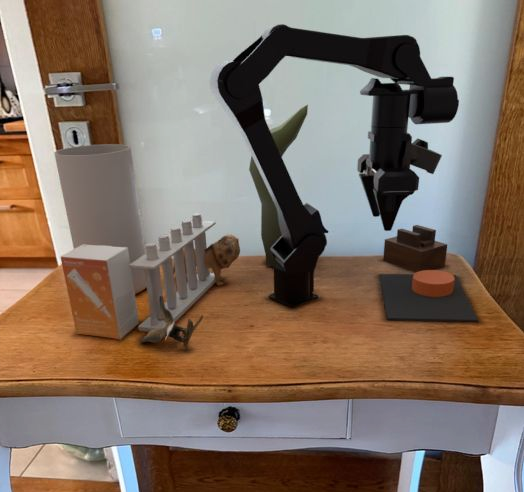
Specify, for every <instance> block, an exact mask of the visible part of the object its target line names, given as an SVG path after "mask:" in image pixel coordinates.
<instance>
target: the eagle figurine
mask: <svg viewBox="0 0 524 492" xmlns="http://www.w3.org/2000/svg"><path fill="white" fill-rule="evenodd" d="M159 301H160V314H161V316H162V318H163V320H164V321H165V323H166V326H165V327H164V328H160V329H153V330H151V331H150V332H147V334H146V335H144V336H142V339H141V341H140V343H146V342H151V343H153V344H154V343H159V342H160V341H162V340H163V339H164V338H165V339H164V341H165V342H166V341H167V340H168V338H169V337H170V338H173V340H175V341H178V342H180V343H183V345H182V346H183V348H184V350H185V351H188V350H189V349H188V346H189V342H190V340H191V337H192V335H193V333H194V331H195V330H196V329H197V327H198V326H199V325H200V323H201V322H202V320H203V317H204V315H203V314H201V315H200V317H199V318H198V319H197V320H196V321H195V323H194V322H193V321H192V320H191V318H188V320H187V323H186V327H182V326H180V325H178V324H176V323H174V322H173V317H172V315H171V313H170V311H169V310H168V309H166V308H165V304H164V303H165V298H164V296H163V297H162V296H160V299H159ZM182 335H183V336H182Z"/></svg>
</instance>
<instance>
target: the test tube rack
mask: <svg viewBox="0 0 524 492" xmlns="http://www.w3.org/2000/svg"><path fill="white" fill-rule="evenodd" d="M191 216H192V217H191V219H184V220H182V221H181V227H180V226H172V227H171V228H170V236H169V234H159V235H158V239H157V241H158V245H157V244H156V243H155V242H148V243H146V244H144V246H145V253H146V254H145V255H143V256H142V257H140V258H139V259H137V260H136V261H134V262H133V263H131V264H130V265H129V267H130V268H143V271H144V273H145V280H146V293H147V299H148V306H149V313H150V315H149V316H148V317H147V318H146V319H145V320H144V321H143V322H141V323H139V324H138V325H137V328H138V332H147V333H149V332H150V331H151V330H153V329H160V328H164V327H165V326H166V323H165V321H164V320H163V318H162V316H161V314H160V301H159V299H160V296H162V297H163V298H164V291H165V300H166V301H164V304H165V308H166V309H168V310H169V311H170V313H171V315H172V317H173V322H174V324H176V322H177V321H178V320H179V319H180V318H181V317H182V316H183V315H184V314H185V313H186V312H187V311H188V310H189V309H190V308H191V307H192V306H193V305H194V304H195V303H196V302H197V301H198V300H199V299H201V297H202V296H203V295H204V294H205V293H207V291H209V290H210V289H211V287H213V286H214V285H215V284H216V281H215V275H214V272H210V269H206V267H205V263H204V255H205V250H204V249H206V248H208V247H207V237H206V235H207V234H206V232H207V231H208V230H210V229H211V228H212V227H213V226H214V225H216V224H217V222H216V221H212V220H211V221H209V220H207V221H206V220H203V216H202V214H201V213H200V212H196V213H192V214H191ZM183 248H184V250H185V259H186V268H187V278H188V283H187V282H186V273H185V264H184V255H183ZM194 249H195V253H196V263H197V267H196V263H195V253H194ZM172 257H173V258H172ZM174 264H175V273H173V266H174ZM160 266H161V270H160ZM161 271H162V275H161ZM161 276H163V277H161ZM162 278H163V284H164V290H163V284H162ZM175 279H176V280H175ZM175 283H176V284H175ZM176 289H177V290H176Z"/></svg>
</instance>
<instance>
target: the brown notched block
mask: <svg viewBox="0 0 524 492" xmlns="http://www.w3.org/2000/svg"><path fill="white" fill-rule="evenodd" d="M436 234H437V229H433V228H429V227H427V226H423V225H419V224H415V225H412V231H411V230H408V229H405V228H398V229H397V232H396V236H393V237H389V238H385V239H384V245H383V260H382V261H383V262H386V263H389V264H391V265H393V266H397V267H400V268H403V269H406V270H408V271H410V272H411V271H412V272H413V273H416V272H419V271H423V270H438V269H440V268H444V267H446V260H447V253H448V243H445V242H442V241H437V240H436Z"/></svg>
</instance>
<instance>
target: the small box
mask: <svg viewBox="0 0 524 492" xmlns="http://www.w3.org/2000/svg"><path fill="white" fill-rule="evenodd" d="M60 261H61V262H60V263H61V266H62V270H63V276H64V281H65V285H66V290H67V295H68V300H69V305H70V309H71V314H72V319H73V324H74V329H75V333H76V335H85V336H86V335H87V336H92V337H93V336H94V337H101V338H102V337H103V338H108V339H115V340H121V339H123V338H124V337H125V336H126V335H127V334H128V333H130V332H131V331H132V330H134V328H135V327H137V326H139V325H140V319H139V312H138V304H137V299H136V298H137V297H136V294H135V291H134V285H133V279H132V272H131V268H130V267H129V265H130V259H129V252H128V248H127V247H112V246H103V245H99V246H98V245H81V246H79V247H77V248H75V249H74V248H73V249H71V250H69V251H68V252H66V253H64V254H62V255H61V256H60Z"/></svg>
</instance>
